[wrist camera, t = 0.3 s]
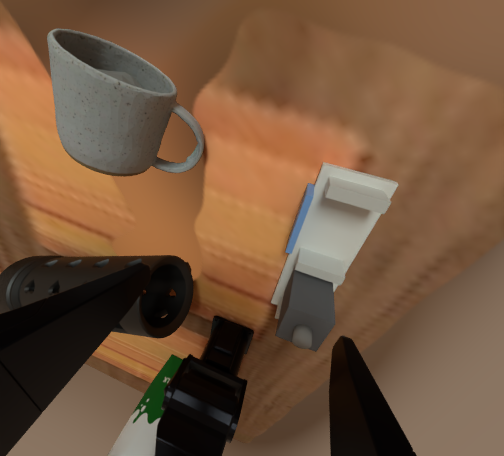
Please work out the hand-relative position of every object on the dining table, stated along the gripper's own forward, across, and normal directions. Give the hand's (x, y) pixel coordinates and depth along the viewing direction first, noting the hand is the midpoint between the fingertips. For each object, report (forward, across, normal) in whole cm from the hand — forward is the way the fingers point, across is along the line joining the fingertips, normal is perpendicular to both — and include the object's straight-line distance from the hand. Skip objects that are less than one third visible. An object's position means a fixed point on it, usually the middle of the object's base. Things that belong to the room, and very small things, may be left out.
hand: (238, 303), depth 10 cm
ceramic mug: (+14, +13, -4) cm, 20 cm away
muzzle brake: (+14, +22, +18) cm, 32 cm away
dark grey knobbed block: (+13, -5, +9) cm, 16 cm away
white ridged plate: (+14, -5, +5) cm, 15 cm away
